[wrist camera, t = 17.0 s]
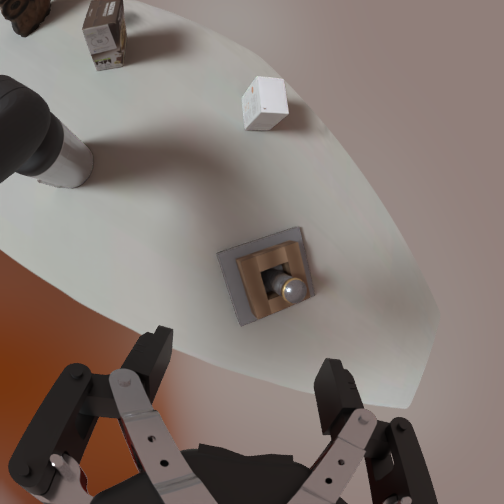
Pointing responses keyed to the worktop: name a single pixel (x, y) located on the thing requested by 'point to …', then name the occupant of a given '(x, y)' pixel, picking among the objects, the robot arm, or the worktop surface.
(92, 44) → the coffee box
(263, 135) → the worktop surface
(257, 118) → the small box
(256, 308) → the socket block
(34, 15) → the owl
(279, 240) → the base
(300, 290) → the gold-rimmed metal cylinder
